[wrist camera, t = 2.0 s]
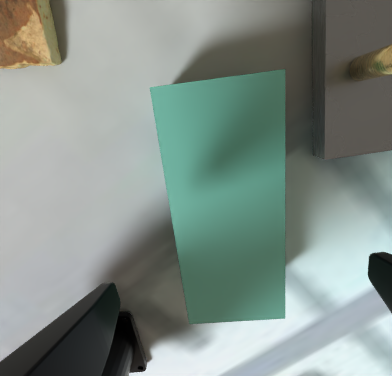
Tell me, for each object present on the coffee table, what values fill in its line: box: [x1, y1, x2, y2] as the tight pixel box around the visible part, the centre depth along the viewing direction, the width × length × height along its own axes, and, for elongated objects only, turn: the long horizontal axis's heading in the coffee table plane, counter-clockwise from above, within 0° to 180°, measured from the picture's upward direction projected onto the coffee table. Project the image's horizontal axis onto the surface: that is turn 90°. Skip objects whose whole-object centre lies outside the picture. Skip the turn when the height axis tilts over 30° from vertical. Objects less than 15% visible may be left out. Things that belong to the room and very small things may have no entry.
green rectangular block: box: [150, 69, 285, 324], centre depth 14 cm, size 14×6×4 cm, turn 7°
